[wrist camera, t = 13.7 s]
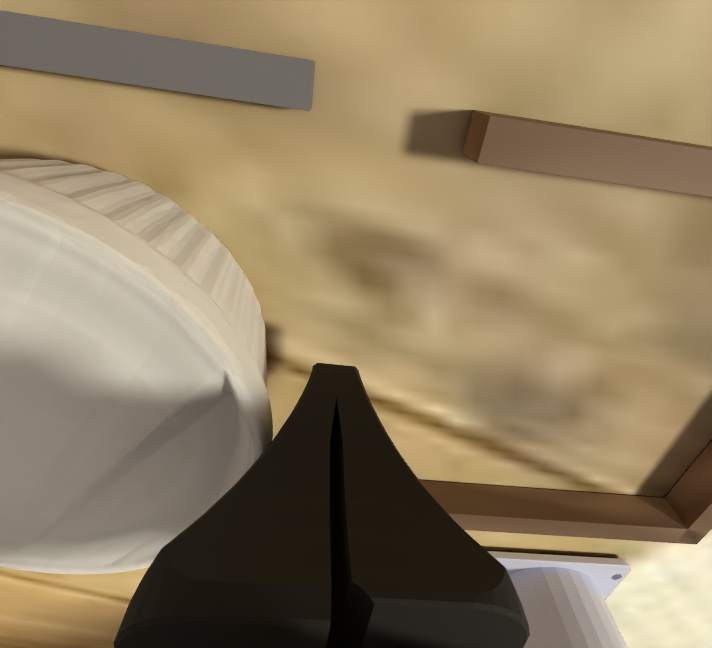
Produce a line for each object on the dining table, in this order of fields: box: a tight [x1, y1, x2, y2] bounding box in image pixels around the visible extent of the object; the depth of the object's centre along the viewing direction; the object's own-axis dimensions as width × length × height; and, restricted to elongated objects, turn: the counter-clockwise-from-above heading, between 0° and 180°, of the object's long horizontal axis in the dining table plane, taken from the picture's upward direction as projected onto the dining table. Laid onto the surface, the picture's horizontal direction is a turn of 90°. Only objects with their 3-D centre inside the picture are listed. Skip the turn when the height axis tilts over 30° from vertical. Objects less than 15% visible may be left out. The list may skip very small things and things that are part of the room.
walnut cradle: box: [419, 110, 712, 544], centre depth 14 cm, size 15×14×2 cm
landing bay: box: [0, 11, 315, 111], centre depth 13 cm, size 16×12×1 cm
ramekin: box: [0, 158, 273, 574], centre depth 11 cm, size 11×11×5 cm
